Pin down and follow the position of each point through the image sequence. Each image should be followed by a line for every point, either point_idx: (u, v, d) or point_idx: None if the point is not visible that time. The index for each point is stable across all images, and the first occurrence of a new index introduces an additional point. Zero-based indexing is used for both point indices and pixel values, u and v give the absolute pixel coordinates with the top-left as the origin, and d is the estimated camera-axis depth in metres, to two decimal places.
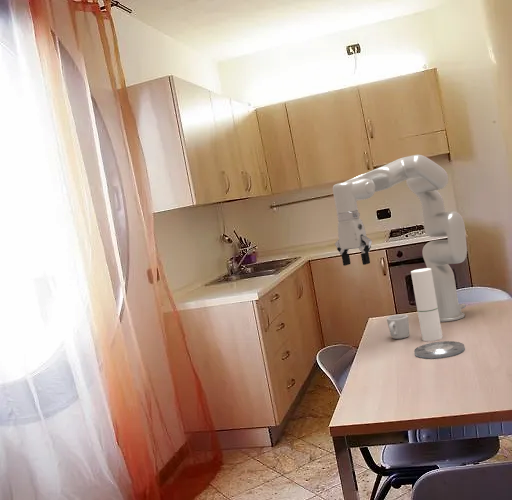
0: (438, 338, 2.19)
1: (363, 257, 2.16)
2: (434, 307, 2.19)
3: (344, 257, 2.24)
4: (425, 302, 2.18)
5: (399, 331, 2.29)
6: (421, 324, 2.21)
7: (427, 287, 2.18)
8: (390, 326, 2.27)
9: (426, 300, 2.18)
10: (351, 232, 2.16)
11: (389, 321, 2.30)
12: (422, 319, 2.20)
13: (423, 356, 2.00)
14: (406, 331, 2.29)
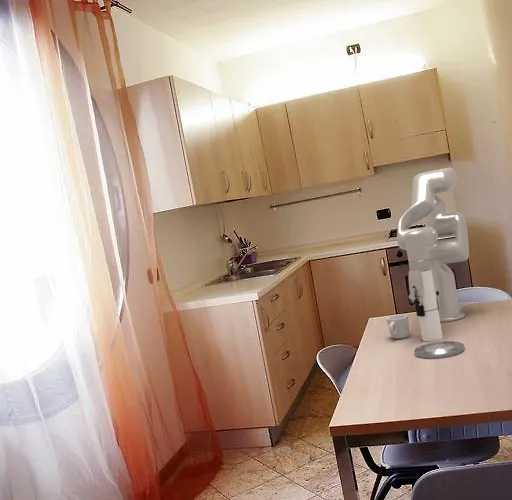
0: (438, 338, 2.19)
1: None
2: (434, 307, 2.19)
3: None
4: (425, 302, 2.18)
5: (399, 331, 2.29)
6: (421, 324, 2.21)
7: (427, 287, 2.18)
8: (390, 326, 2.27)
9: (426, 300, 2.18)
10: None
11: (389, 321, 2.30)
12: (422, 319, 2.20)
13: (423, 356, 2.00)
14: (406, 331, 2.29)
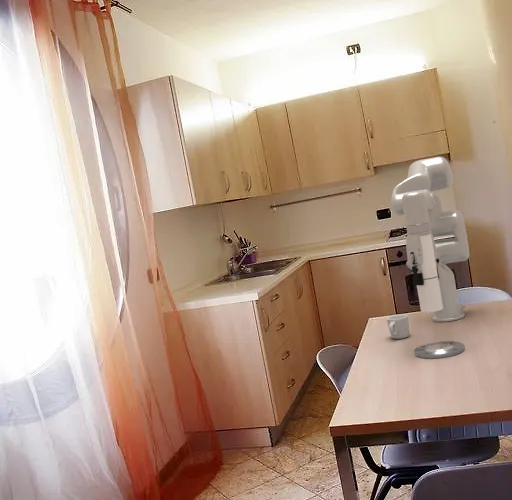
0: (438, 309, 2.02)
1: None
2: (434, 275, 2.01)
3: None
4: (424, 269, 2.01)
5: (399, 331, 2.29)
6: (420, 294, 2.04)
7: (426, 253, 2.00)
8: (390, 326, 2.27)
9: (425, 267, 2.01)
10: (432, 243, 2.03)
11: (389, 321, 2.30)
12: (421, 288, 2.02)
13: (423, 356, 2.00)
14: (406, 331, 2.29)
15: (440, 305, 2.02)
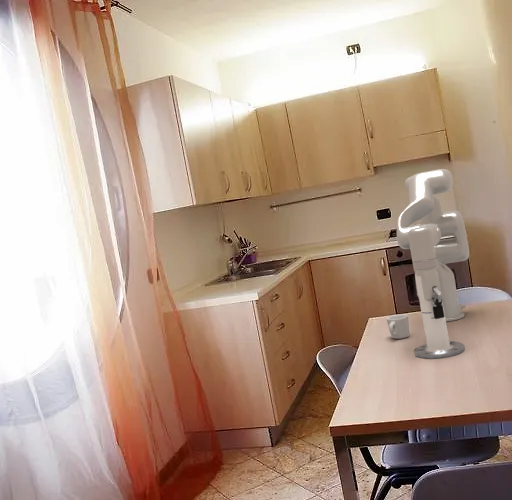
0: (449, 344, 2.04)
1: None
2: None
3: None
4: None
5: (399, 331, 2.29)
6: (437, 332, 2.01)
7: None
8: (390, 326, 2.27)
9: None
10: None
11: (389, 321, 2.30)
12: (439, 325, 2.01)
13: (423, 356, 2.00)
14: (406, 331, 2.29)
15: None
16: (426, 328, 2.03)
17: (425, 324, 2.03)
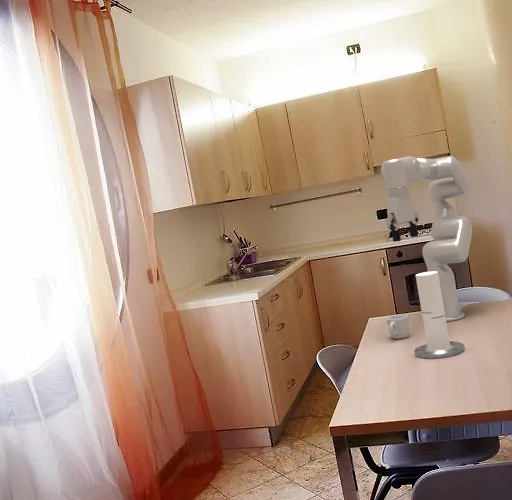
0: (449, 344, 2.04)
1: None
2: None
3: None
4: (441, 306, 2.01)
5: (399, 331, 2.29)
6: (437, 332, 2.01)
7: (440, 289, 2.02)
8: (390, 326, 2.27)
9: (441, 304, 2.01)
10: (410, 205, 2.26)
11: (389, 321, 2.30)
12: (439, 325, 2.01)
13: (423, 356, 2.00)
14: (406, 331, 2.29)
15: None
16: (426, 328, 2.03)
17: (425, 324, 2.03)
